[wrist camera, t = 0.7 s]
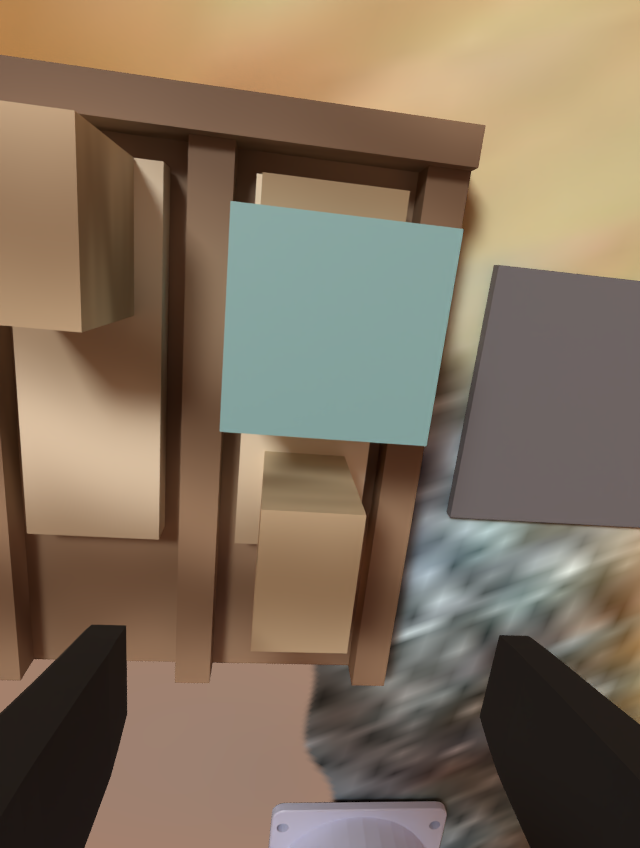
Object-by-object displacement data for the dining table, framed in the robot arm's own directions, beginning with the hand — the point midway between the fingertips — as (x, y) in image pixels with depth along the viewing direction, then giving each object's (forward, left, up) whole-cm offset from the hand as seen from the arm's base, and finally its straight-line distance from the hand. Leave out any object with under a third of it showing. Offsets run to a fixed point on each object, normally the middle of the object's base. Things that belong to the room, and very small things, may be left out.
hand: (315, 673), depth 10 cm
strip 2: (+4, 0, -8) cm, 9 cm away
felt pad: (+4, -10, -9) cm, 14 cm away
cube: (+6, 0, -7) cm, 9 cm away
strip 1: (+4, +6, -8) cm, 11 cm away
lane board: (+2, +3, -9) cm, 10 cm away
